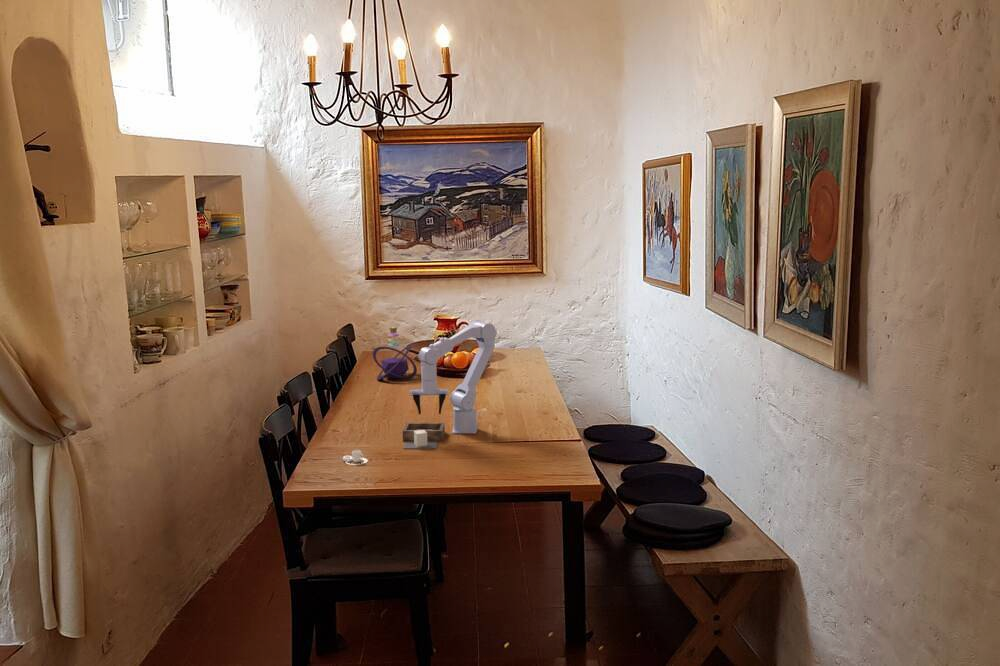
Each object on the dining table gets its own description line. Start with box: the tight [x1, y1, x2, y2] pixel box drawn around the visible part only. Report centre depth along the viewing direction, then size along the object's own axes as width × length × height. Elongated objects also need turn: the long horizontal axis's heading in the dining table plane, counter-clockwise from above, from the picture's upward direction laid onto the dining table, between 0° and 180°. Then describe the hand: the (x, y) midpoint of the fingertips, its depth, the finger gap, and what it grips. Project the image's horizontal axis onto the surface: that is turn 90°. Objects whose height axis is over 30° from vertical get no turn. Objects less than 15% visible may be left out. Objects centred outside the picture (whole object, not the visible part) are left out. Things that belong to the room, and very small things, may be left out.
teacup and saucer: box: [342, 449, 369, 466], centre depth 324 cm, size 9×8×4 cm
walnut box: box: [402, 422, 446, 442], centre depth 351 cm, size 15×11×4 cm
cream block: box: [413, 430, 428, 447], centre depth 340 cm, size 4×4×5 cm
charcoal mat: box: [403, 441, 439, 450], centre depth 341 cm, size 12×8×1 cm, turn 89°
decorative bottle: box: [372, 326, 418, 381], centre depth 445 cm, size 22×21×25 cm
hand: (429, 413), depth 349 cm, fingers open, 7 cm apart
